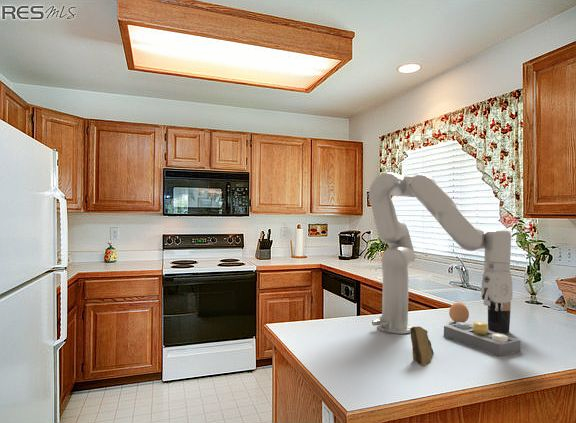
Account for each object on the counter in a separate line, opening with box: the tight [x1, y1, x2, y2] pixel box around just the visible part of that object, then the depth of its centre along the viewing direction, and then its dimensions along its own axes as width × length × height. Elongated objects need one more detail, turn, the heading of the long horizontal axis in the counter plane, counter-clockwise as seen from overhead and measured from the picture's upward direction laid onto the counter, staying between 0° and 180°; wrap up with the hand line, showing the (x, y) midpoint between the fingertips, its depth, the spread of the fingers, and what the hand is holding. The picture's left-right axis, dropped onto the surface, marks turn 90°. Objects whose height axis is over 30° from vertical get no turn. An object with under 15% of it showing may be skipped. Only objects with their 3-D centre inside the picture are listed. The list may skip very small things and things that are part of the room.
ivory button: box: [492, 333, 508, 343], centre depth 120 cm, size 4×4×3 cm
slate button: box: [455, 322, 470, 330], centre depth 133 cm, size 4×4×3 cm
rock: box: [410, 326, 435, 367], centre depth 111 cm, size 11×9×10 cm
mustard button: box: [472, 321, 488, 335], centre depth 127 cm, size 4×4×3 cm
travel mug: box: [487, 300, 512, 335], centre depth 142 cm, size 8×8×20 cm
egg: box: [448, 301, 470, 323], centre depth 150 cm, size 7×7×8 cm
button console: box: [443, 323, 522, 357], centre depth 127 cm, size 11×21×4 cm, turn 27°
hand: (495, 321), depth 122 cm, fingers closed
